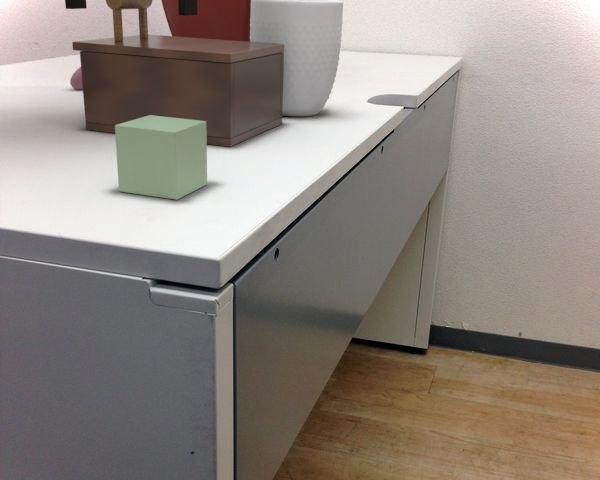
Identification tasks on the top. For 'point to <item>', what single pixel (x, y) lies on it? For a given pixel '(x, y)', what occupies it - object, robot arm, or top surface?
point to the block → (161, 156)
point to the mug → (302, 48)
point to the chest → (184, 93)
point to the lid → (171, 41)
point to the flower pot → (211, 20)
